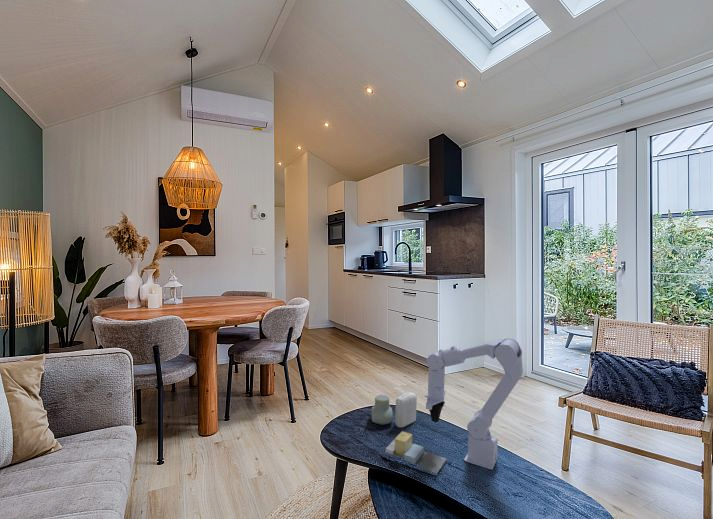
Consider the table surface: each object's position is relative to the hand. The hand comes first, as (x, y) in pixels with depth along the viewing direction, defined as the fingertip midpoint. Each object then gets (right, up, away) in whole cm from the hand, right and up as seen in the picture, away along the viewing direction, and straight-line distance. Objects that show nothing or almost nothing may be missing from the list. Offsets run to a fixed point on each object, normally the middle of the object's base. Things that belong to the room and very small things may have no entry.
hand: (435, 421), depth 145 cm
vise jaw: (-9, -9, -8) cm, 15 cm away
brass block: (-12, -9, -6) cm, 16 cm away
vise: (-9, -10, -8) cm, 16 cm away
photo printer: (-9, -8, +18) cm, 21 cm away
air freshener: (-18, -8, +19) cm, 27 cm away
